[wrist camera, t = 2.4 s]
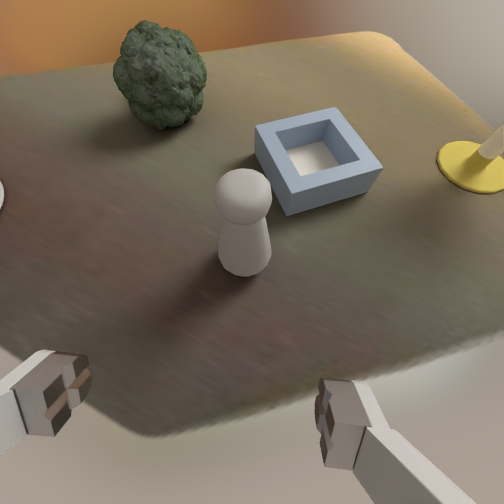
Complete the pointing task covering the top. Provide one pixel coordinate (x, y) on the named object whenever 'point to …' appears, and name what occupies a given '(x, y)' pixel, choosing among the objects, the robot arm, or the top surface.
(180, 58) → the vegetable
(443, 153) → the candle
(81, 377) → the robot arm
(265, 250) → the salt shaker
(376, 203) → the top surface
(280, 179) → the container
